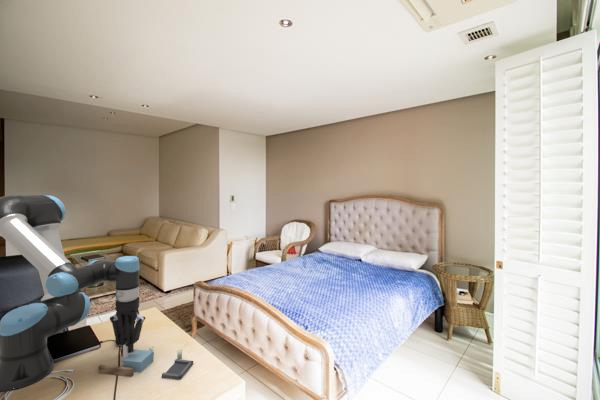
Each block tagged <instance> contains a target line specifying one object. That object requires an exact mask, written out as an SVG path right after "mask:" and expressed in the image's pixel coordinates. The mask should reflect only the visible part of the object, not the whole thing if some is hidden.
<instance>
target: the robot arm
mask: <svg viewBox="0 0 600 400" xmlns="http://www.w3.org/2000/svg"><path fill="white" fill-rule="evenodd" d="M66 214H67V213H66V207H65V205H64V203H63V201H61V200H60V199H59V197H56V196H53V195H45V194H39V195H37V194H36V195H35V194H32V195H15V194H14V195H3V196H0V237H2V238H3V239H4V240H5V241H7V243H8V244H10V245H11V246H12V247H13V248H14V249H15V250H16V251H17V252H18V253H20V255H22V257H24V259H26V260H27V261H28V262H29V263H30V264H31V265H32V266H33V267H35V268H36V270H38V274H39V277H40V281H41V282H40V283H41V285H42V289H43V293H44V295H43V296H42V298H41V299H40V302H34V303H30V304H25V305H22V306H19V307H16V308H14V309H12V310H10V311H8V312H6V314H5V315H4V316H2V317H1V319H0V392H6V391H7V392H8V391H12V390H11V389H13V388H18V389H22V388H25V387H27V386H29V385H33V384H34V383H36V382H39V381H40V380H42V379H43V378H45V377H47V376H48V375H49V374H50V373H51V372H52V371H53V369H54V358H53V357H52V355H51V353H50V350H49V349H48V338H49V337H51V336H53V335H55V334H57V333H60V332H61V331H64V330H66V329H68V328H70V327H73V326H76V325H77V324H79V323H80V322H82V321H84V320H85V318H87V316H88V314H89V313H90V312H91V311H90V310H91V300H90V297H89V296H88V295H87V294H86V293H85V292H84V291H82V292H81V290H84V289H86V288H89V287H92V286H96V285H99V284H100V283H104V282H106V283H107V282H108V283H115V314H113V315H112V316H110V317H109V321H110V323H111V324H112V328H113V333H114V339H116V342H117V343H118V342H120V343H121V346H120V347H121V349H122V350H121V349H120V352H121V351H122V352H123V356H122V361H123V360H124V359H125V358H127V357H128V356H129V355H130V354H132V351H133V350H134V349H135V348H134V344H135V343H137V342H138V341H139V340H140V336H141V333H142V332H141V331H142V328H143V323H144V321H145V320H146V316H142V315H140V311H139V307H140V269H141V266H140V259H139V257H138V256H135V255H125V256H120V257H117V258H116V259H115V261H114V260H105V259H95V260H91V261H90V262H89V263H87V264H86V265H83V266H80V267H79V266H78V267H77V266H76V265H75V264H74V263H72V262H71V261H70V260H69V259H68V258H67V257H66V255H65V251H64V249H63V248H64V247H63V244H62V241H61V237H60V236H61V235H60V233H59V229H60V227H61V226H62V221H63V220H64V218H65V215H66ZM119 337H120V338H119Z"/></svg>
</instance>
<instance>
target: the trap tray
mask: <svg viewBox="0 0 600 400" xmlns="http://www.w3.org/2000/svg"><path fill="white" fill-rule="evenodd" d="M193 365H194V360H188V359H177V358H176V359H174V362H173V364H172V366H170V367H169V368H168V370H167V371H166V372H163V373H162V374H161V378H162V379H169V380H177V381H178V380H179V381H181V380H182V378H183V377H184V376H185V375H186V374H187V372H188V371H189V370H190V369H191V368H192V367H193Z"/></svg>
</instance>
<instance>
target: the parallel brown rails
mask: <svg viewBox="0 0 600 400" xmlns="http://www.w3.org/2000/svg"><path fill="white" fill-rule="evenodd" d="M121 350H122V349H120V357H123V352H122V351H121ZM135 350H136V349H135V348H134V350H133V351H132V353H133V352H134V351H135ZM97 367H98V370H97V373H98V374H104V375H111V376H121V377H129V378H132V377H133V376H135V375H134V374H135V372H134V368H127V367H123V366H117V365H109V364H99V365H98V366H97Z"/></svg>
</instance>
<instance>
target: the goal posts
mask: <svg viewBox="0 0 600 400" xmlns="http://www.w3.org/2000/svg"><path fill="white" fill-rule="evenodd" d="M154 347H155V346H150V347H148V351H153V356H155V355H154V353H155V352H154V351H155V350H154ZM176 352H177V355H176V357H177V358H176V359H179V360H182V355H183V349H178V350H177V351H176Z"/></svg>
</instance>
